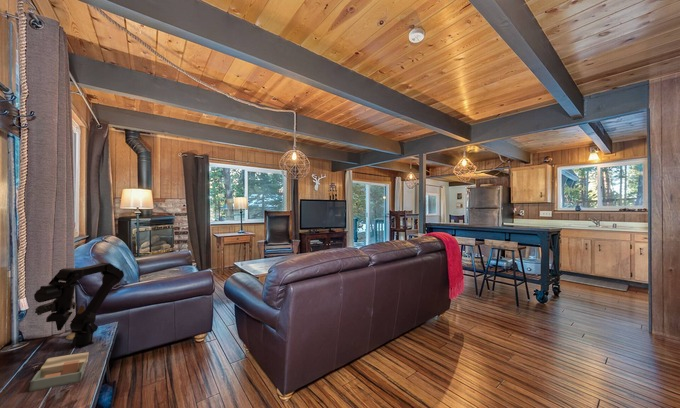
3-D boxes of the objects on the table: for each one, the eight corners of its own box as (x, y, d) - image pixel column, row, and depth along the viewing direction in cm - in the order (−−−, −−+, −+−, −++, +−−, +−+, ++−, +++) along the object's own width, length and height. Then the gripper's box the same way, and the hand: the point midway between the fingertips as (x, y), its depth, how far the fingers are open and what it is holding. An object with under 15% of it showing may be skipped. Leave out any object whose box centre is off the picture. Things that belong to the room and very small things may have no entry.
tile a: (64, 362, 110) (63, 365, 108) (79, 360, 112) (78, 362, 111) (62, 373, 109) (61, 376, 108) (77, 371, 112) (76, 373, 110)
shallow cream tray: (46, 367, 113) (48, 358, 113) (87, 361, 120) (88, 352, 121) (38, 379, 106) (40, 368, 106) (83, 371, 113) (84, 361, 113)
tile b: (41, 381, 101) (40, 386, 101) (58, 378, 104) (57, 383, 103) (45, 375, 105) (44, 380, 104) (61, 372, 107) (60, 377, 107)
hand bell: (76, 332, 145) (81, 303, 146) (91, 333, 145) (96, 304, 146) (60, 339, 137) (65, 307, 138) (76, 340, 137) (81, 309, 138)
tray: (36, 380, 105) (38, 370, 105) (84, 371, 113) (85, 362, 113) (28, 391, 98) (30, 381, 99) (80, 381, 106) (81, 372, 107)
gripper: (46, 292, 126) (41, 325, 125) (31, 304, 111) (25, 341, 110) (78, 290, 133) (73, 321, 131) (68, 301, 117) (62, 337, 116)
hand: (59, 330), depth 122 cm, fingers closed
